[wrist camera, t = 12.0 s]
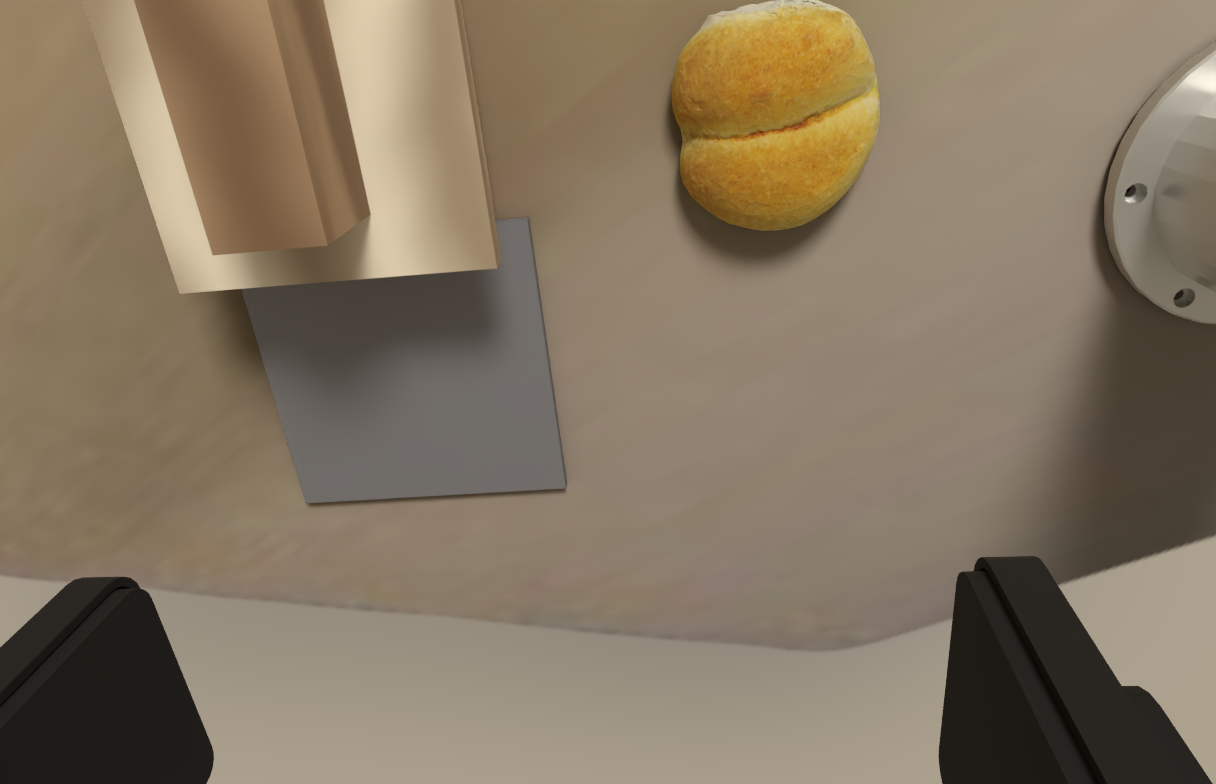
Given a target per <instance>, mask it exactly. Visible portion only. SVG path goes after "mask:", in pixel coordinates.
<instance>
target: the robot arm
mask: <svg viewBox="0 0 1216 784" xmlns="http://www.w3.org/2000/svg"><path fill="white" fill-rule="evenodd" d="M1129 187H1131V189H1130V191H1129V192H1128V193H1127V194H1125V193H1126V191H1127V189H1128V188H1129ZM1104 227H1105V231H1106V236H1107V240H1108V245H1109V249H1110V252H1111V254H1112V256H1113V258H1114V260H1115V262H1116V264H1117V266H1118V268H1119V270H1120V272H1121V273H1122V275H1123V276H1124V277H1125V278H1126V279H1127V280H1128V282H1129V283H1130V284H1131V285H1132V286H1133V288H1134V289H1135V290H1136V291H1138V292H1139V293H1140V294H1142V295H1143V296H1144V297H1146V298H1147V299H1149V300H1150V301H1151V302H1153V303H1154V304H1156V305H1157V306H1159V307H1161V308H1162V309H1164V310H1166V311H1168V312H1169V313H1171V314H1173V315H1176V316H1179V317H1182V318H1185V319H1189V320H1192V321H1195V322H1198V323H1203V324H1213V325H1216V41H1215V42H1214V43H1212V44H1211V45H1209V46H1208V47H1207V48H1205V49H1204V50H1202V51H1201V52H1199V53H1198V54H1196V55H1195V56H1193V57H1192V58H1190V59H1189V60H1187V61H1186V62H1185V63H1184V64H1183V65H1182V66H1181V67H1180V68H1179V69H1177V70H1176V71H1175V72H1174V73H1173V74H1172V75H1171V76H1170V77H1169V78H1167V79H1166V80H1165V81H1164V82H1163V83H1162V84H1161V85H1160V86H1159V87H1158V89H1157V90H1156V91H1155V92H1154V94H1153V95H1152V96H1151V97H1150V98H1149V100H1148V101H1147V102H1146V103H1145V104H1144V106H1143V107H1142V108H1141V109H1140V110H1139V112H1138V114H1137V115H1136V117H1135V119H1134V120H1133V122H1132V124H1131V125H1130V127H1129V129H1128V130H1127V132H1126V134H1125V135H1124V137H1123V139H1122V140H1121V143H1120V145H1119V148H1118V150H1117V153H1116V156H1115V158H1114V161H1113V163H1112V166H1111V168H1110V172H1109V177H1108V182H1107V187H1106V192H1105V197H1104ZM213 760H214V755H213V749H212V745H211V743H210V740H209V738H208V736H207V733H206V731H205V728H204V726H203V723H202V721H201V718H200V716H199V714H198V711H197V708H196V706H195V704H194V701H193V699H192V696H191V694H190V691H189V689H188V686H187V684H186V682H185V679H184V677H183V674H182V672H181V669H180V667H179V665H178V662H177V659H176V657H175V655H174V652H173V650H172V647H171V645H170V642H169V640H168V637H167V635H166V633H165V630H164V628H163V625H162V623H161V620H160V618H159V615H158V613H157V610H156V608H155V605H154V603H153V601H152V598H151V597H150V595H149V593H148V592H146V591H145V590H143V589H140V587H139V585H138V584H137V583H136V582H135V581H134V580H132V579H131V578H127V577H91V578H80V579H76V580H73V581H72V582H71V583H69V584H68V585H66V586H65V587H64V588H63V589H62V590H61V591H60V592H59V593H58V594H57V595H56V596H55V597H54V598H53V599H51V600H50V601H49V602H48V603H47V604H46V605H45V606H44V607H43V608H42V609H41V610H40V611H39V612H38V613H37V614H35V615H34V616H33V617H32V618H31V619H30V620H29V621H28V622H27V623H26V624H25V625H24V626H23V627H22V628H21V629H20V630H18V631H17V632H16V633H15V634H14V635H13V636H12V637H11V638H10V639H9V640H8V641H7V642H6V643H5V644H4V645H3V646H1V647H0V784H206V783H207V781H208V779H209V777H210V774H211V771H212V767H213ZM939 766H940V773H941V778H942V783H943V784H1212V782H1211V781H1210V779H1209V778H1208V776H1207V775H1206V773H1205V772H1204V770H1203V769H1202V767H1201V766H1200V764H1199V763H1198V761H1197V760H1196V758H1195V757H1194V755H1193V754H1192V752H1191V751H1190V750H1189V748H1188V746H1187V745H1186V744H1185V742H1184V741H1183V739H1182V738H1181V736H1180V735H1179V733H1178V732H1177V730H1176V729H1175V727H1174V726H1173V724H1172V723H1171V721H1170V720H1169V718H1168V717H1167V715H1166V714H1165V712H1164V711H1163V710H1162V708H1161V707H1160V705H1159V704H1158V703H1157V702H1156V701H1155V699H1154V698H1153V697H1152V696H1151V694H1150V693H1149V692H1147V691H1145V690H1144V689H1142V688H1141V687H1139V686H1121V684H1120V683H1119V681H1118V680H1117V678H1116V677H1115V675H1114V673H1113V672H1112V670H1111V669H1110V667H1109V665H1108V664H1107V663H1106V661H1105V659H1104V658H1103V656H1102V654H1101V653H1100V651H1099V650H1098V648H1097V647H1096V645H1095V643H1094V642H1093V640H1092V639H1091V637H1090V636H1089V634H1088V632H1087V631H1086V629H1085V628H1084V626H1083V625H1082V623H1081V621H1080V620H1079V618H1078V617H1077V615H1076V614H1075V612H1074V610H1073V609H1072V607H1071V606H1070V604H1069V603H1068V601H1067V599H1066V598H1065V596H1064V595H1063V593H1062V591H1061V590H1060V588H1059V587H1058V585H1057V584H1056V582H1055V580H1054V579H1053V577H1052V576H1051V574H1050V573H1049V571H1048V569H1047V568H1046V566H1045V565H1044V563H1043V562H1042V561H1041V560H1040V559H1039V558H1037V557H1035V556H1023V557H981V558H979V559H978V560H977V562H976V564H975V567H974V571H971V572H961V573H959V575H958V578H957V583H956V593H955V602H954V612H953V621H952V631H951V640H950V650H949V660H948V669H947V679H946V688H945V697H944V707H943V716H942V726H941V736H940V745H939Z"/></svg>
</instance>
